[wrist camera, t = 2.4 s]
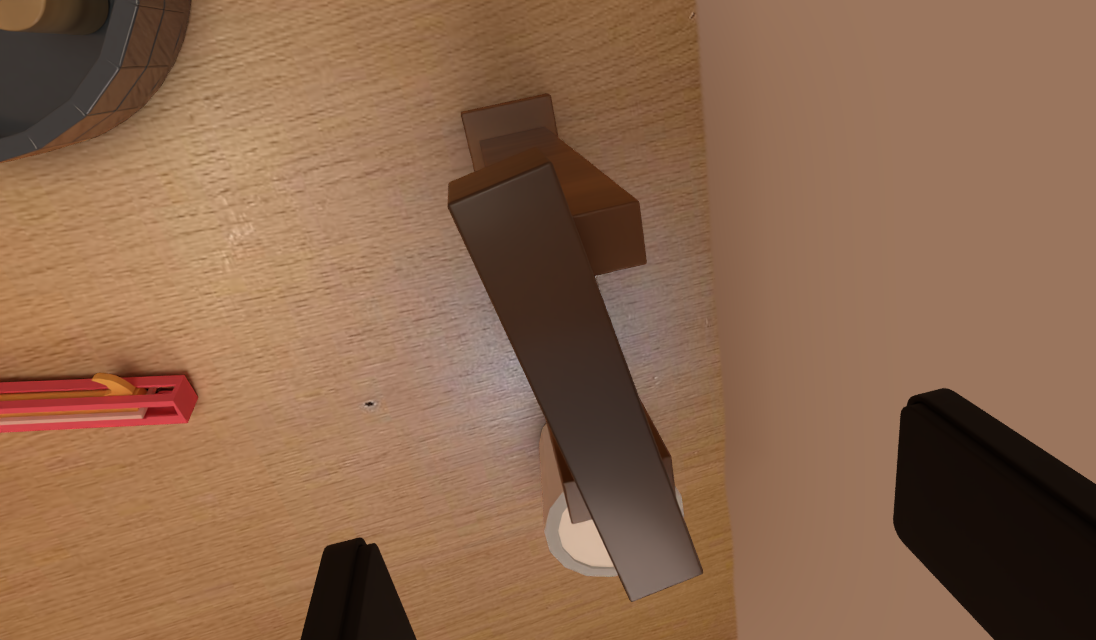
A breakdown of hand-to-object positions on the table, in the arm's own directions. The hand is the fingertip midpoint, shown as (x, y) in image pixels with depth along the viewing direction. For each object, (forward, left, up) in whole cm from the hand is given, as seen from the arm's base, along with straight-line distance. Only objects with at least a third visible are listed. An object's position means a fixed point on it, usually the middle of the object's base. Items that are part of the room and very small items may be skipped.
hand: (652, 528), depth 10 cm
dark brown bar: (0, -1, -5) cm, 5 cm away
